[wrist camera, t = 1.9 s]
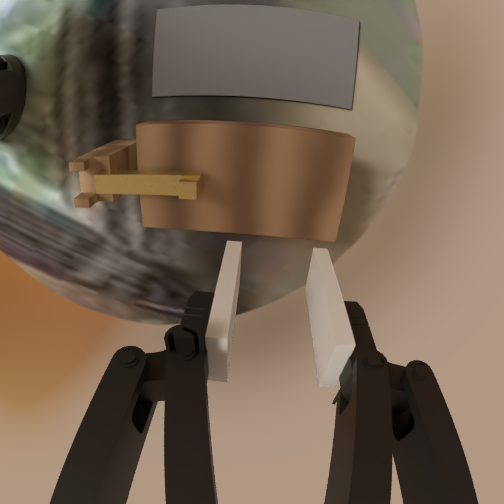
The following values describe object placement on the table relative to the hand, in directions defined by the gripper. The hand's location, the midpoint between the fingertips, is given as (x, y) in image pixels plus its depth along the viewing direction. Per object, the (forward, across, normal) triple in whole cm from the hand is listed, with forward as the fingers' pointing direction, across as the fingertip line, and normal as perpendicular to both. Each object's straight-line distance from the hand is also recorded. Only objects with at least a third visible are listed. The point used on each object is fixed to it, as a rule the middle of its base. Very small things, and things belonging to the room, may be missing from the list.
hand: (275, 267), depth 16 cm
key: (+13, -12, 0) cm, 18 cm away
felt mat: (+23, -3, +14) cm, 27 cm away
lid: (+17, -3, 0) cm, 17 cm away
